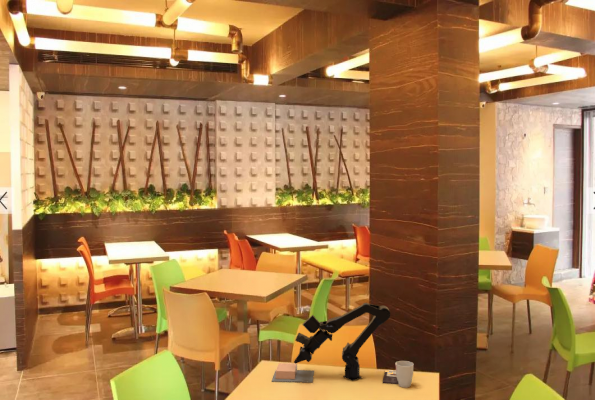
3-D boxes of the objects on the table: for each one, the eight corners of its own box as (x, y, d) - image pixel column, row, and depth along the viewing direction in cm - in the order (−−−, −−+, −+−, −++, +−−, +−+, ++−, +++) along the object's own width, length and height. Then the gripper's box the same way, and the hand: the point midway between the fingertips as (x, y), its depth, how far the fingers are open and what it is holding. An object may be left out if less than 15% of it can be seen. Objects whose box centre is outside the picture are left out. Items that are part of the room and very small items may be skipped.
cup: (402, 381, 252) (402, 359, 252) (417, 385, 246) (417, 363, 246) (391, 385, 247) (391, 363, 247) (407, 390, 241) (406, 367, 241)
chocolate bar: (382, 382, 250) (385, 369, 267) (382, 384, 250) (385, 371, 267) (402, 383, 248) (403, 371, 265) (402, 385, 248) (403, 373, 265)
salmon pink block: (297, 363, 266) (278, 363, 267) (294, 371, 254) (275, 371, 255) (297, 371, 266) (278, 370, 267) (294, 379, 254) (275, 379, 255)
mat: (314, 371, 267) (314, 370, 267) (312, 382, 251) (312, 381, 251) (275, 370, 269) (275, 369, 269) (271, 381, 253) (271, 380, 253)
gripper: (306, 323, 269) (284, 345, 270) (304, 332, 250) (280, 356, 251) (322, 339, 268) (300, 361, 269) (321, 350, 249) (297, 373, 250)
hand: (294, 362), depth 260 cm, fingers closed
